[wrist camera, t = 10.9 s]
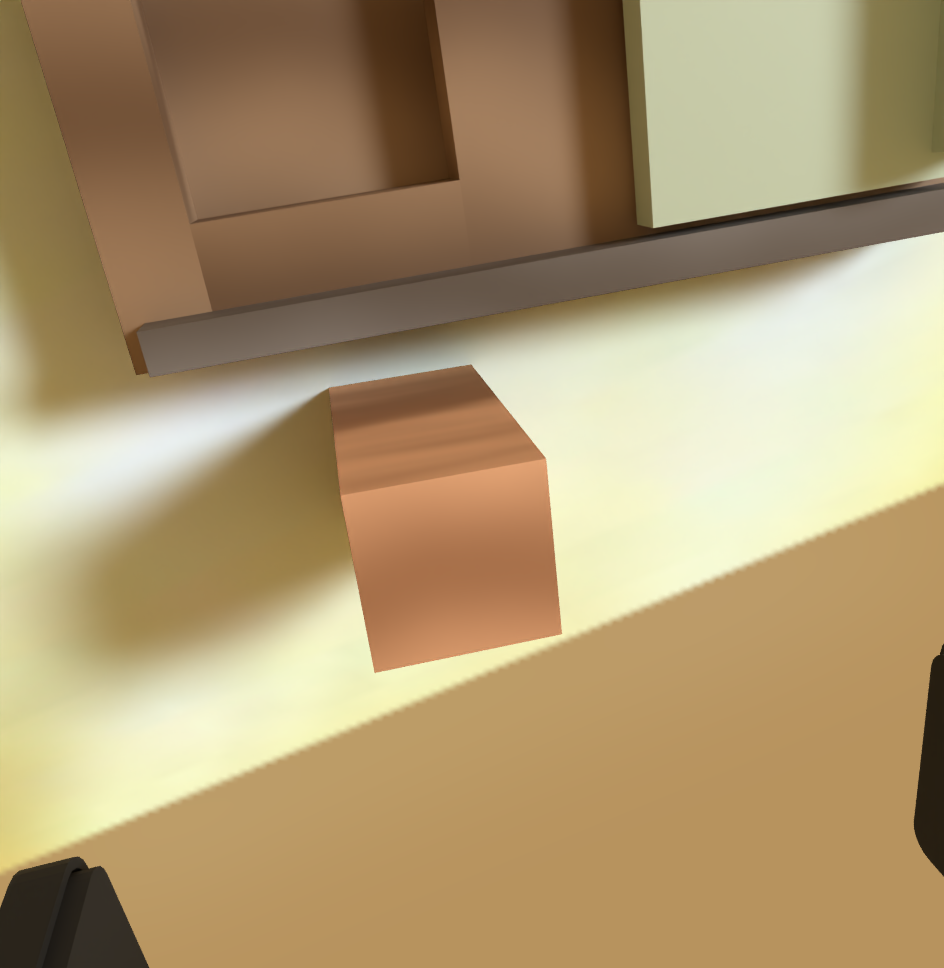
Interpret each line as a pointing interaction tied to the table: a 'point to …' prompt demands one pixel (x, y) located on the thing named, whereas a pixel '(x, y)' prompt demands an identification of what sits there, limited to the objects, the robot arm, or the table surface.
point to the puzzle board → (378, 169)
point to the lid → (780, 101)
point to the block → (443, 517)
